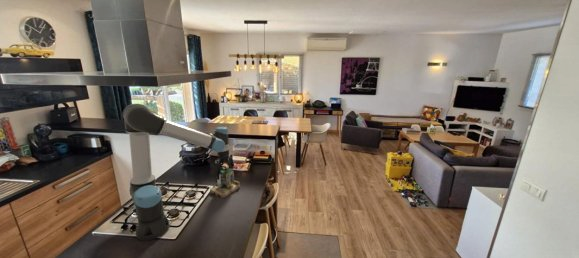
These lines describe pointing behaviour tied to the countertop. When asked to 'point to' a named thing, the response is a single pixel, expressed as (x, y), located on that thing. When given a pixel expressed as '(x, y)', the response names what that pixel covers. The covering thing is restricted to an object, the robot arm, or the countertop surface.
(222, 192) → the dock
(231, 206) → the countertop surface
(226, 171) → the chalk box
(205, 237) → the countertop surface
